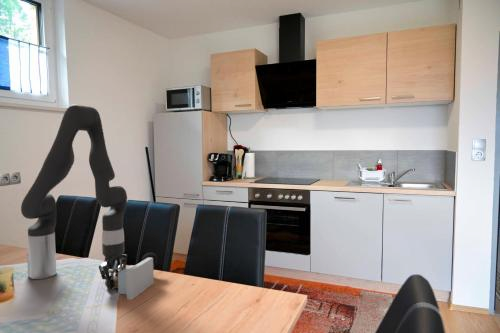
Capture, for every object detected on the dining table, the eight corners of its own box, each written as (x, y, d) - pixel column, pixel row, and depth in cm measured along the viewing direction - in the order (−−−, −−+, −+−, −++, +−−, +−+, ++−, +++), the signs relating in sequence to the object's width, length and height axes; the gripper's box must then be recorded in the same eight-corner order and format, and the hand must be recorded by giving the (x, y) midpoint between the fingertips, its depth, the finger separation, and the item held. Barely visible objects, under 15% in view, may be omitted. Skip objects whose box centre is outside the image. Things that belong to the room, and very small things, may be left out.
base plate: (126, 299, 115) (126, 270, 114) (148, 282, 128) (148, 257, 128) (132, 299, 114) (131, 271, 114) (153, 283, 128) (152, 257, 127)
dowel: (105, 288, 123) (104, 278, 123) (112, 284, 127) (111, 274, 126) (131, 291, 120) (131, 281, 120) (138, 287, 124) (137, 276, 124)
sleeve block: (118, 293, 119) (117, 272, 119) (131, 284, 127) (131, 265, 126) (132, 295, 118) (131, 274, 117) (144, 285, 125) (144, 266, 125)
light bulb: (155, 280, 131) (154, 255, 130) (140, 280, 131) (139, 255, 130) (159, 274, 137) (158, 250, 136) (145, 274, 137) (144, 250, 136)
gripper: (116, 235, 131) (117, 278, 132) (90, 245, 117) (92, 293, 118) (133, 236, 129) (134, 279, 130) (109, 247, 115) (110, 295, 116)
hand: (114, 286), depth 124 cm, fingers closed on dowel, 4 cm apart
